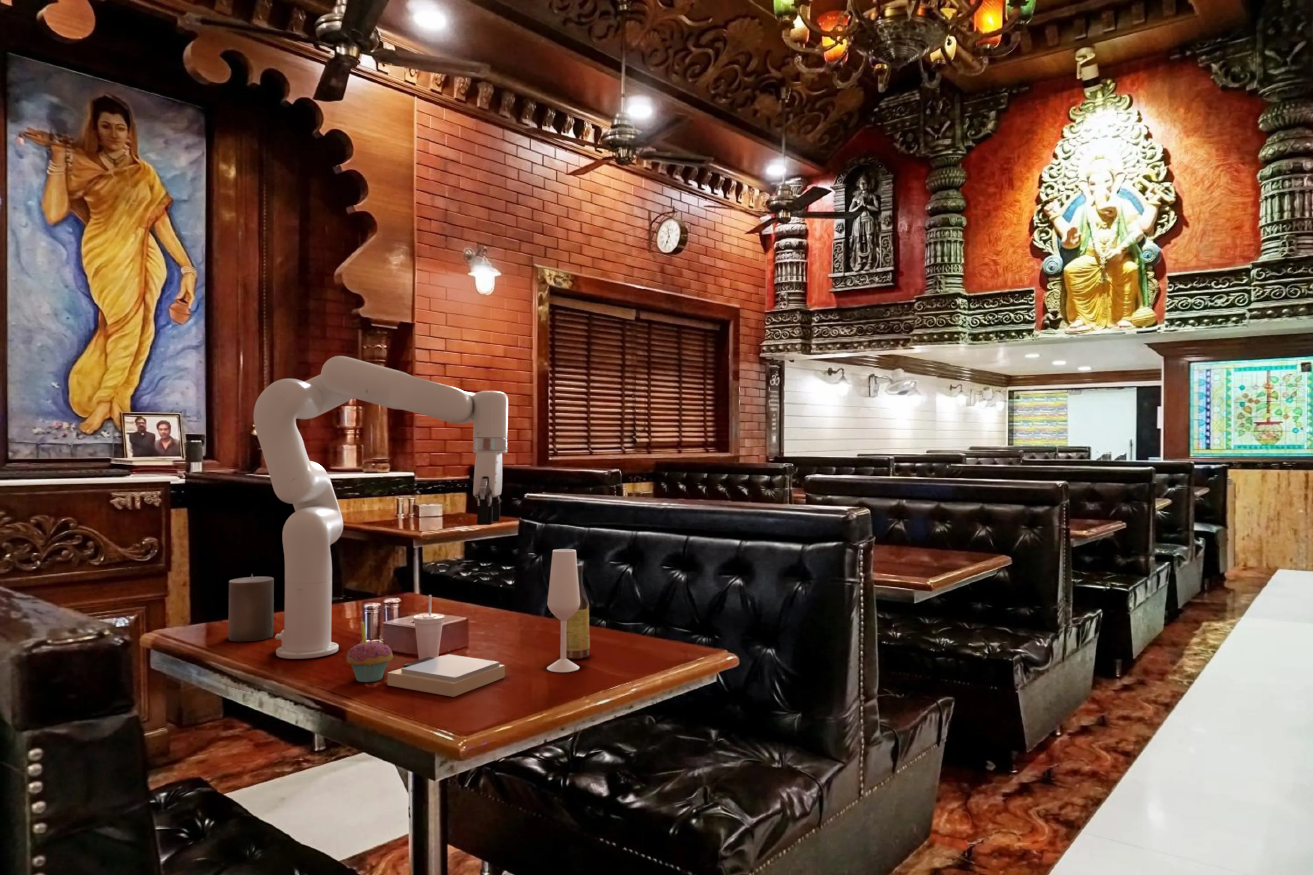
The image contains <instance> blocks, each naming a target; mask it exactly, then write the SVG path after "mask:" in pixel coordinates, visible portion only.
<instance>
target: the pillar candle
mask: <svg viewBox="0 0 1313 875" xmlns="http://www.w3.org/2000/svg"><path fill="white" fill-rule="evenodd" d="M274 593H275V578H274V577H272V576H254V574H253V573H251V576H249V577H248V576H247V577H238V578H233V579H229V581H228V619H227V620H228V624H227V625H228V626H227V627H228V631H227V633H228V634H227V635H228V636H227V638H228V640H229V641H231V642H237V643H240V642H257V641H263V640H267V639H270V638H273V636H274V634H275V633H274V632H275V631H274V629H275V628H274V625H275V624H274V622H275V620H274V619H275V618H274V616H275V606H274V602H275V599H274V597H275V596H274Z"/></svg>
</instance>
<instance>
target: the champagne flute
mask: <svg viewBox="0 0 1313 875" xmlns="http://www.w3.org/2000/svg"><path fill="white" fill-rule="evenodd" d="M550 563H551V564H550V574H549V585H548V592H547V593H548V594H547V603H546V604H547V607H548V610H549V611H550V613H551V614H553V616H554V617H555V618H556V619H557V620H559V621H560V620H561V623H560V656H559V659H557V660H556V661H555V662H552V663H551V664H550V665H548V666H547V667H546V670H547V671H550V672H555V673H570V672H575V671H578V670H579V669H580V666H579V665H577V664H576V663H575V662H573V661H571V660H570V659H566V623H567V620H568V619H569V618H571V617H572V616H573V615H574V614H575V613H576V611H577V610H578V608H579V606H580V595H579V583H578V571H577V564H578V560H577V550H576V549H573V548H572V549H570V548H559V549H553V550H552V554H551V562H550Z"/></svg>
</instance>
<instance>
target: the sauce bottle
mask: <svg viewBox="0 0 1313 875" xmlns="http://www.w3.org/2000/svg"><path fill="white" fill-rule="evenodd" d="M577 571H578V583H579V595H580V606H579V608H578V610H577V611H576V613H575V614H574V615H573V616H572V617H571V618H569V619H568V620H567V623H566V659H568V660H581V659H586V658H588V657H589V656H590V648H591V638H590V637H591V636H590V634H591V633H590V600H589V598H588V595H587V593H586V589H585V586H584V583H583V582H584V581H583V572H584V565H583V564H582V563H577ZM559 621H560V622H559V623H560V624H561V620H559Z"/></svg>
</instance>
